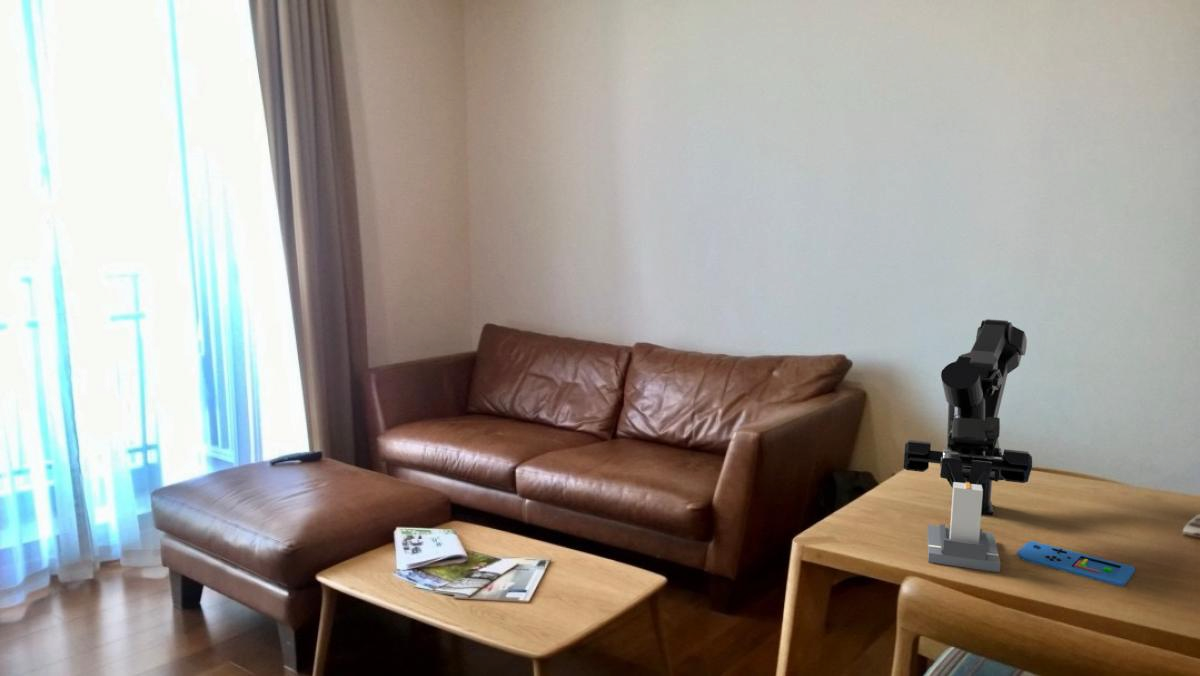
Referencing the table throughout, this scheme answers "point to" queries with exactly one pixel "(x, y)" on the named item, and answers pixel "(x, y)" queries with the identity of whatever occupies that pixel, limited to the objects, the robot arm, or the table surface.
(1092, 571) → the handheld gaming device
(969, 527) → the grey upright block
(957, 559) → the grey socket base
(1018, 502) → the table surface
